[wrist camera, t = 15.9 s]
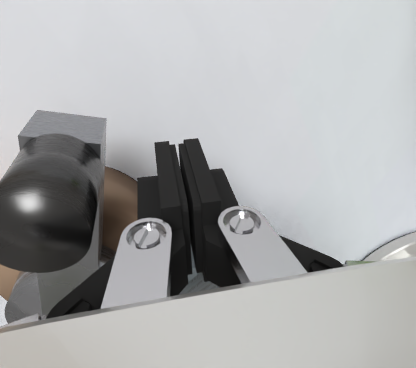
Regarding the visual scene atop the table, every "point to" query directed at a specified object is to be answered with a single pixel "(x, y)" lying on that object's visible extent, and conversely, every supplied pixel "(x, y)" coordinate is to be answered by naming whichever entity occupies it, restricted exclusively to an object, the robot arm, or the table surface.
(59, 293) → the crank
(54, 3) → the table surface
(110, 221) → the crank pedestal
